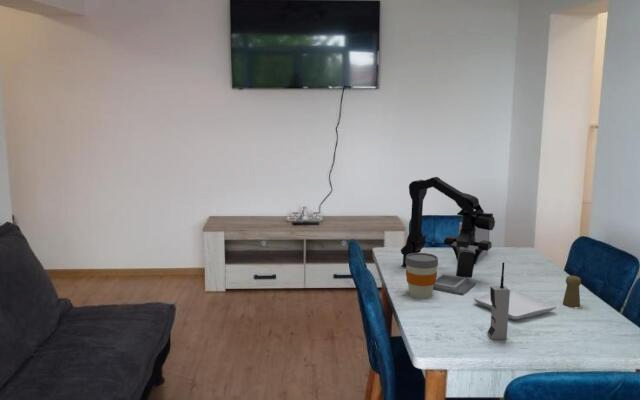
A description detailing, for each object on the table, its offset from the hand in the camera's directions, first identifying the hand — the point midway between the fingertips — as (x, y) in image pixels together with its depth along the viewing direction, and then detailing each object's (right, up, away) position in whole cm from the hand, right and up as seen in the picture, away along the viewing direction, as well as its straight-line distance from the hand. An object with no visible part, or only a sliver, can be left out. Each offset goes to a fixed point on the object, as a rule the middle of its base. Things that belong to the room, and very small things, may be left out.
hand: (466, 262), depth 239 cm
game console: (+11, -2, +30) cm, 32 cm away
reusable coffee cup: (-22, -11, -17) cm, 30 cm away
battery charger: (-1, -6, +2) cm, 6 cm away
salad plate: (+9, -14, -32) cm, 36 cm away
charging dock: (-10, -9, -8) cm, 15 cm away
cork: (+32, -13, -28) cm, 44 cm away
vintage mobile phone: (-5, -18, -57) cm, 60 cm away
